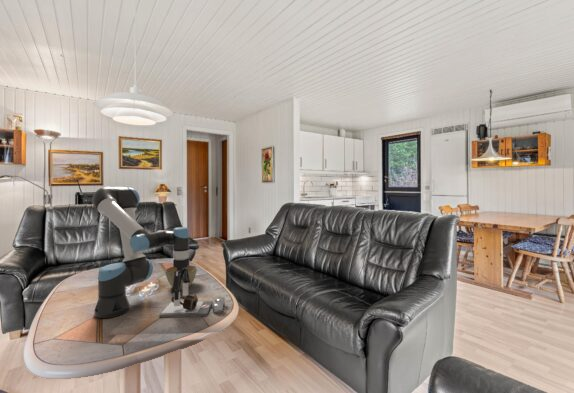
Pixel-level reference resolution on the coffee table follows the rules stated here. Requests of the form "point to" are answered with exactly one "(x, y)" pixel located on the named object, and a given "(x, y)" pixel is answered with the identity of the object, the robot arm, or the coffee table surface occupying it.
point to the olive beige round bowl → (192, 274)
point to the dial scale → (186, 310)
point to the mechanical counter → (188, 302)
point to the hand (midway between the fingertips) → (181, 300)
